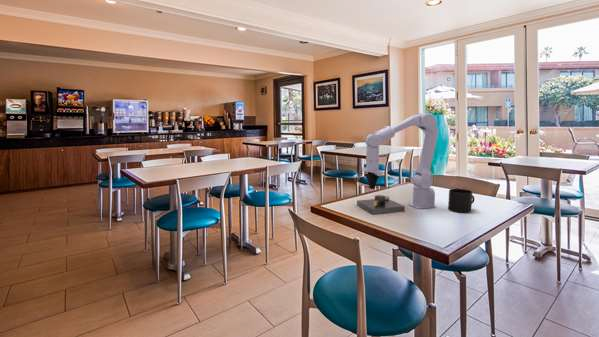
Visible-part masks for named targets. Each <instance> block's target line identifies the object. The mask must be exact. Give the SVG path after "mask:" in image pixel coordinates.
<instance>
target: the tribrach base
mask: <svg viewBox="0 0 599 337" xmlns="http://www.w3.org/2000/svg"><path fill="white" fill-rule="evenodd" d="M374 201H375V198H372V199H371V198H369V199H360V200H356V206H357V207H359V208H361V210H364V211H365V212H367V213H369V214H370V215H383V214H393V213H402V212H405V211H406V210H405V205H403V204H401V203H398V202H396V201H394V200H391V199H390V196H386V203H385V204H378V205H377V206H374Z"/></svg>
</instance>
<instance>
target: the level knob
mask: <svg viewBox="0 0 599 337" xmlns="http://www.w3.org/2000/svg"><path fill="white" fill-rule="evenodd" d="M374 199H375V201H374V206H377V205H378V204H385V203H386V196H385V195H380V194H377V195H374Z"/></svg>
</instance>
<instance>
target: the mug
mask: <svg viewBox="0 0 599 337" xmlns="http://www.w3.org/2000/svg"><path fill="white" fill-rule="evenodd" d="M474 202H475V196H474V195H473V191H472V190H469V189H465V188H451V189H449V190H448V210H449V211H451V212H453V213H459V214H461V213H462V214H467V213H471V212H472V204H474Z"/></svg>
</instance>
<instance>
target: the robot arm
mask: <svg viewBox="0 0 599 337" xmlns="http://www.w3.org/2000/svg"><path fill="white" fill-rule="evenodd" d="M437 120H438V119H437V118H436V116H434V114H433V113H431V112H426V113H422V112H420V113H417V114H413V115H411V116H409V117H408V118H406V119H404V120H402V121H401V122H399V123H397V124H395V125H393V126H390V125H384V126H382V129H379V130H378V131H377V130H376V131H373V133H370V134H368V135H367V136H366V137H365V140H364V142H365V145H366V149H365V150H366V151H365V152H366V154H365V155H366V161H365V162H366V164H365V166H366V167H365V166H364V167H363V168H362V170H363V171H362V172H363V173H364V172H366V173H365V174H364V176H365V177H366V179H367V184H368V186H369V187H368V188H369V189H370V190H375V189H376V185H377V183H378V180H379V178H380V177H383V171H381V170H380V145H381V144H382V143H385V142H386V141H389V140H390V139H393V138H395V135H396V133H398V132H400V131H404V130H405V129H407V128H409V127H412V126H413V127H414V126H416V127H417V128H418V129H421V131H422V132H423V133H424V134H425V136H424V140H423V144H422V149H421V153H420V158H419V162H418V167H417V168H416V169H415V171H414V173H413V175H412V176H411V182H412V184H413V186H412V187H413V188H412V203H408V206H411V207H413V208H416V209H418V210H420V209H423V210H424V209H430V208H436V206H435V200H436V192H435V190H434V188H432V184H433V179H432V177H433V174H432V171H431V167H432V162H433V159H434V155H435V154H434V153H435V149H436V146H437V142H438V141H437V140H438V137H439V129H438V124H437Z"/></svg>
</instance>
